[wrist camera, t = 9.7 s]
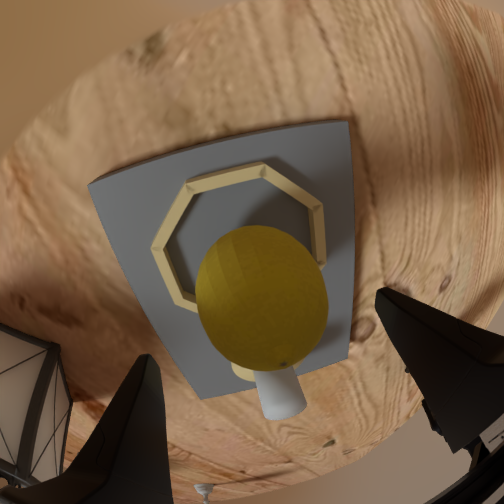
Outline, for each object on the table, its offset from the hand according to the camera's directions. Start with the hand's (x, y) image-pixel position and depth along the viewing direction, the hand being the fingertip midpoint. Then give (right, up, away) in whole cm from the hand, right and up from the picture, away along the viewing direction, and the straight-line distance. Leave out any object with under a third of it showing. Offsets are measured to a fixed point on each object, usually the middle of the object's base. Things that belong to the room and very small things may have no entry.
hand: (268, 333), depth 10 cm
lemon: (-1, +3, +6) cm, 7 cm away
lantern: (-24, -8, +9) cm, 27 cm away
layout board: (-1, 0, +9) cm, 9 cm away
